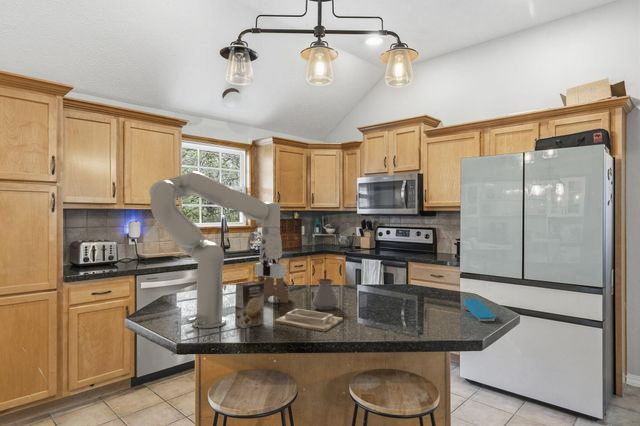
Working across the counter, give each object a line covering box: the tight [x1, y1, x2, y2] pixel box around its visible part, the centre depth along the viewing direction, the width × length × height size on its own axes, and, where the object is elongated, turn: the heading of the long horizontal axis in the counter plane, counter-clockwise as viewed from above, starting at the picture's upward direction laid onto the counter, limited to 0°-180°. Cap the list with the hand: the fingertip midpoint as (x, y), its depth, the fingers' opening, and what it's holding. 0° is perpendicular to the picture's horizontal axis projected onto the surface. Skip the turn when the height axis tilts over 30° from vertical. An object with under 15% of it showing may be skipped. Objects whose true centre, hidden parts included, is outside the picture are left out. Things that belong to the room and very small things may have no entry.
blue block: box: [463, 298, 497, 319], centre depth 161 cm, size 7×7×18 cm
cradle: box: [274, 307, 343, 332], centre depth 150 cm, size 16×22×3 cm
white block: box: [254, 262, 287, 279], centre depth 159 cm, size 4×13×5 cm, turn 59°
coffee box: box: [234, 280, 265, 329], centre depth 146 cm, size 9×6×16 cm
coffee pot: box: [312, 269, 339, 311], centre depth 175 cm, size 21×12×15 cm, turn 179°
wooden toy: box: [257, 258, 290, 304], centre depth 183 cm, size 16×7×25 cm, turn 87°
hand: (270, 274), depth 159 cm, fingers closed on white block, 4 cm apart
